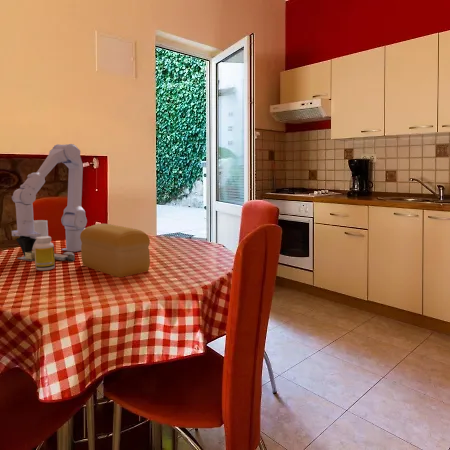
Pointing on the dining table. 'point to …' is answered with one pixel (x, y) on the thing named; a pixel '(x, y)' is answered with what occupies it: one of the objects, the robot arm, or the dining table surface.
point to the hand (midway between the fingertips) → (27, 255)
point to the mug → (40, 228)
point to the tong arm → (62, 256)
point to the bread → (115, 249)
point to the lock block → (30, 255)
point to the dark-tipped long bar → (68, 257)
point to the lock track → (26, 259)
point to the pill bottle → (44, 253)
